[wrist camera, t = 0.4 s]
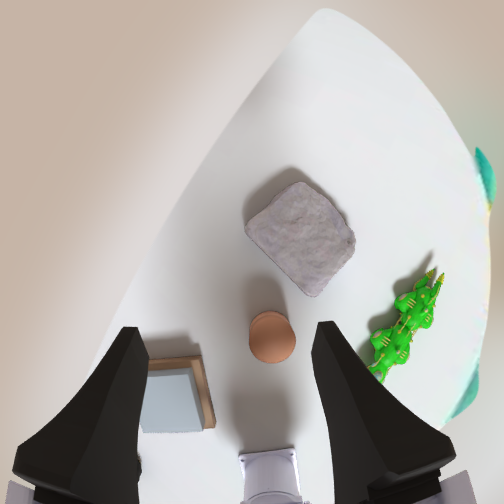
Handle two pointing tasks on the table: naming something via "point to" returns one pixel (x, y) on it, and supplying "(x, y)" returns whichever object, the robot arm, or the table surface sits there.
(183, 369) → the tower top
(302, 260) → the stone block
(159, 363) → the tower base
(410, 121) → the table surface
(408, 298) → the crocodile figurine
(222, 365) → the table surface
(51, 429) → the robot arm
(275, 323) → the brown cylinder
